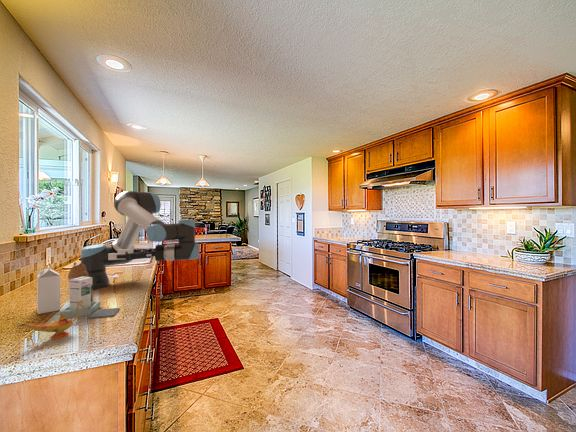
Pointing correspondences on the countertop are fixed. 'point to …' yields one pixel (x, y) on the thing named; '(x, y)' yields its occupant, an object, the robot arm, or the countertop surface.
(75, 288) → the syrup box
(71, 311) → the corral
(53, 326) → the magic lamp
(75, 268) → the cat ice cream
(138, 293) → the countertop surface
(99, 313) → the coaster
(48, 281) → the milk carton
